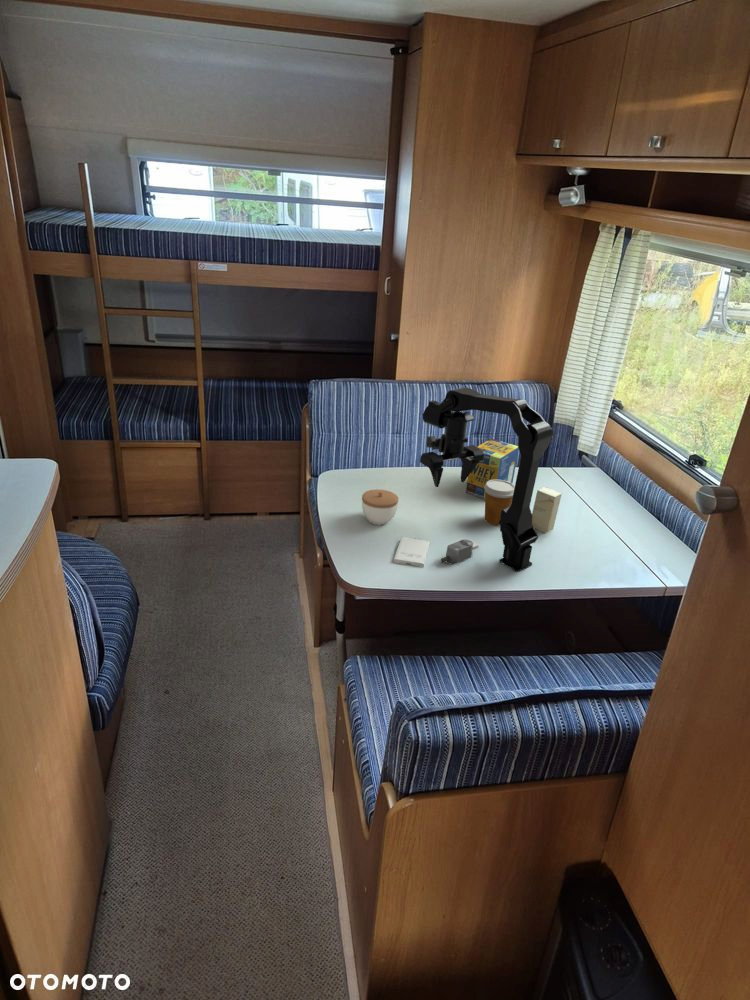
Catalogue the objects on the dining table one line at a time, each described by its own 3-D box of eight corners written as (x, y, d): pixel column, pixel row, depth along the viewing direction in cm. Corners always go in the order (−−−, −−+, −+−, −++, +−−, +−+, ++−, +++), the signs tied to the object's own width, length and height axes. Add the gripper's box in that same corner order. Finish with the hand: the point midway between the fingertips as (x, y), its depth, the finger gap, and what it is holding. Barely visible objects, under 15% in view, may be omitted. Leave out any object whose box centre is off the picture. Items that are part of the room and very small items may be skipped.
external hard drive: (429, 546, 184) (423, 568, 173) (400, 541, 185) (393, 563, 174) (430, 541, 183) (424, 563, 172) (401, 536, 184) (393, 558, 173)
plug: (446, 567, 173) (448, 554, 171) (437, 562, 175) (438, 549, 173) (479, 553, 181) (481, 541, 179) (470, 548, 183) (471, 535, 181)
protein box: (464, 493, 217) (470, 449, 210) (485, 479, 228) (491, 437, 222) (493, 502, 212) (500, 458, 205) (512, 488, 223) (520, 445, 217)
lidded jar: (364, 529, 189) (366, 500, 185) (357, 512, 198) (359, 484, 194) (400, 528, 191) (402, 499, 187) (391, 511, 201) (394, 483, 197)
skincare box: (529, 525, 198) (536, 489, 193) (536, 521, 201) (543, 485, 196) (547, 533, 194) (555, 496, 189) (554, 529, 197) (562, 492, 192)
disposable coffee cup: (515, 526, 197) (522, 491, 192) (487, 529, 194) (493, 493, 189) (501, 512, 205) (507, 477, 200) (474, 514, 202) (479, 479, 197)
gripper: (464, 420, 192) (458, 469, 198) (411, 428, 183) (407, 479, 189) (488, 432, 183) (481, 483, 190) (434, 440, 174) (428, 493, 181)
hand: (449, 484), depth 188 cm, fingers open, 9 cm apart
